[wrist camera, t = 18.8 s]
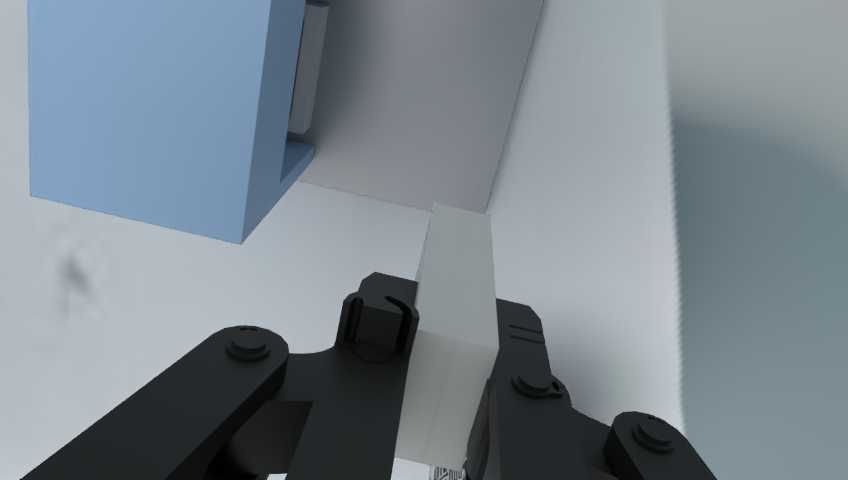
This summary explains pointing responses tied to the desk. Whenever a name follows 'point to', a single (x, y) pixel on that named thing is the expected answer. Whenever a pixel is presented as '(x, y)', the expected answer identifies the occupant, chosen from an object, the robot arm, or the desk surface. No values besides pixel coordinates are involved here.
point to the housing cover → (165, 109)
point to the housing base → (410, 95)
